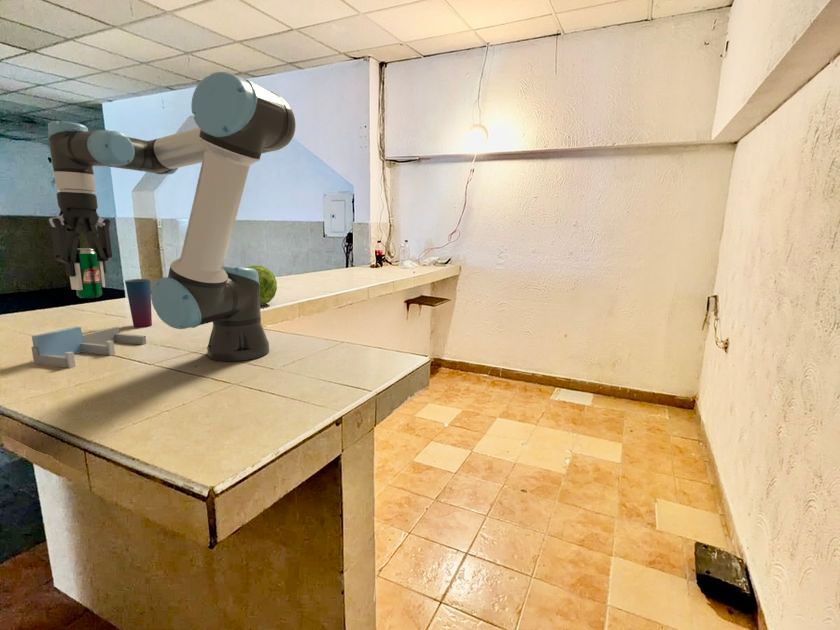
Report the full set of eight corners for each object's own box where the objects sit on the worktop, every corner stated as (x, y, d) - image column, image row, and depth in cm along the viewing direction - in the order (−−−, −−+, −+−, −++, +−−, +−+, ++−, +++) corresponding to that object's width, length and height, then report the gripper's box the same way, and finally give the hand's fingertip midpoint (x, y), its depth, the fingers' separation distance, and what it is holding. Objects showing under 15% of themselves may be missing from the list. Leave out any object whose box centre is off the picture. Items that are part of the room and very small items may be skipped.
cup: (159, 325, 140) (154, 280, 136) (136, 329, 134) (131, 282, 131) (148, 322, 143) (143, 278, 140) (126, 326, 137) (120, 280, 134)
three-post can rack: (148, 343, 119) (145, 321, 118) (70, 367, 99) (66, 340, 97) (116, 340, 122) (113, 318, 120) (33, 363, 101) (29, 336, 100)
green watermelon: (250, 313, 191) (271, 284, 196) (265, 313, 172) (288, 281, 177) (217, 291, 183) (240, 261, 188) (229, 288, 164) (254, 256, 169)
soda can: (88, 299, 104) (81, 249, 102) (72, 297, 106) (65, 248, 103) (107, 295, 109) (101, 248, 107) (91, 294, 110) (85, 247, 108)
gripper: (100, 194, 112) (111, 282, 116) (21, 188, 94) (37, 292, 99) (123, 195, 110) (133, 284, 115) (47, 189, 93) (62, 294, 97)
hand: (88, 287), depth 107 cm, fingers closed on soda can, 5 cm apart
